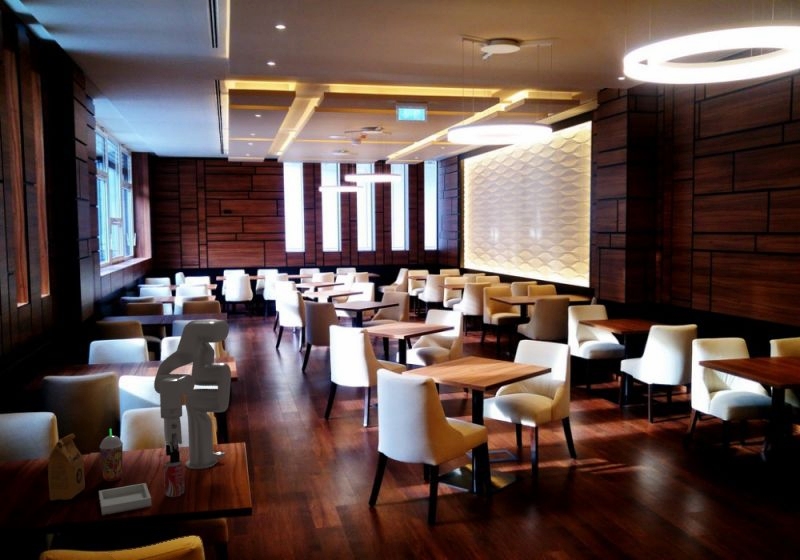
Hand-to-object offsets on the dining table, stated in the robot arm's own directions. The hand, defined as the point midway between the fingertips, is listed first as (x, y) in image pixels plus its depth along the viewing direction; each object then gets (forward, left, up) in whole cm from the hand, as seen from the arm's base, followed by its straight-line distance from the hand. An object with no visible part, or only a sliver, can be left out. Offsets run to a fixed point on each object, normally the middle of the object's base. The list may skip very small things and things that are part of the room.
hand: (172, 458), depth 251 cm
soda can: (0, -1, -14) cm, 14 cm away
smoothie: (+19, -29, -14) cm, 37 cm away
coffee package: (+35, -19, -14) cm, 42 cm away
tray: (+17, -2, -14) cm, 22 cm away
